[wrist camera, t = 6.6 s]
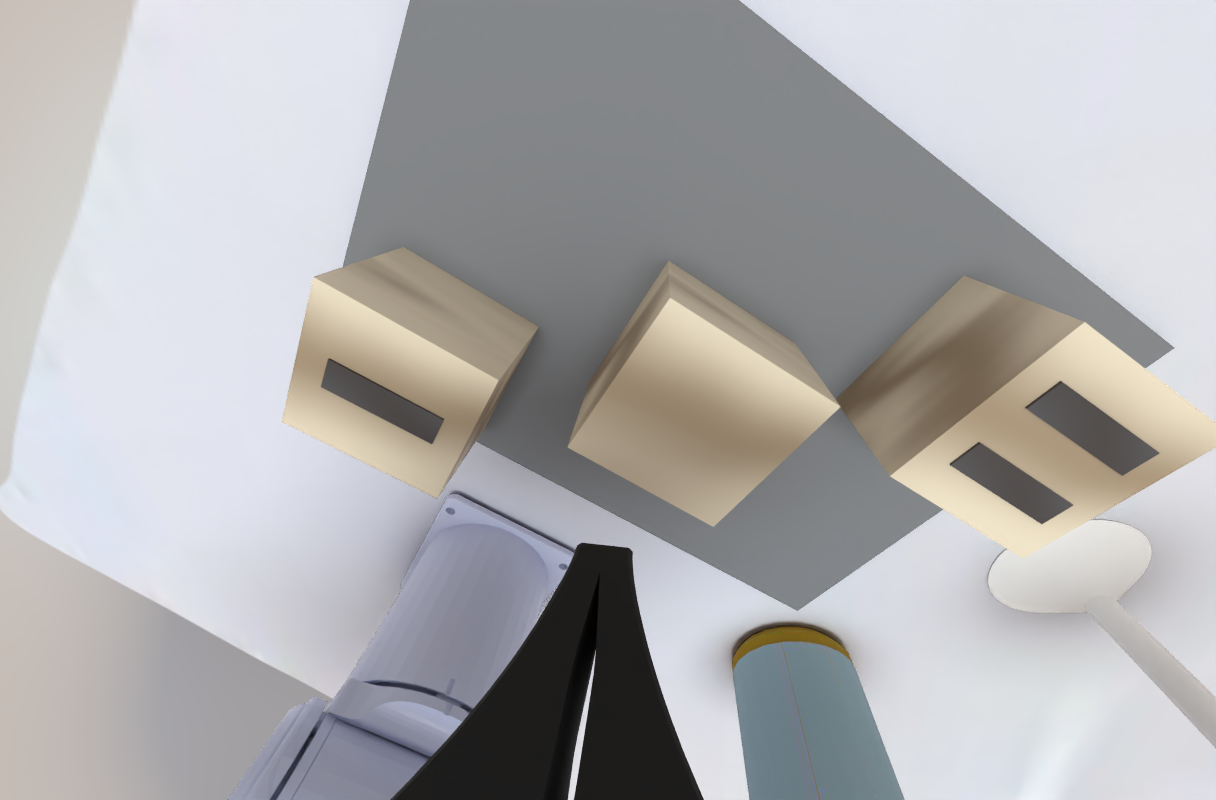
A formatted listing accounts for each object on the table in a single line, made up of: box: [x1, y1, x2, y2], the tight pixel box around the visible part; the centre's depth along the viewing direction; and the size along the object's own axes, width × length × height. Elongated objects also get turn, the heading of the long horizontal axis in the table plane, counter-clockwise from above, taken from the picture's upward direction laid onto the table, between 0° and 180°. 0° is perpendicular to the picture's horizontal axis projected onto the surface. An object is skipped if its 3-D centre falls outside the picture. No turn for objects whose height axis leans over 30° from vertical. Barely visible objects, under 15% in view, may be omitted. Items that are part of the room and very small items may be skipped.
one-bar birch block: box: [282, 247, 539, 498], centre depth 17 cm, size 6×6×5 cm
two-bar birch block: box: [836, 276, 1216, 559], centre depth 15 cm, size 6×6×5 cm
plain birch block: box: [568, 260, 841, 527], centre depth 16 cm, size 6×6×5 cm
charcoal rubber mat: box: [343, 0, 1174, 611], centre depth 18 cm, size 19×28×1 cm
